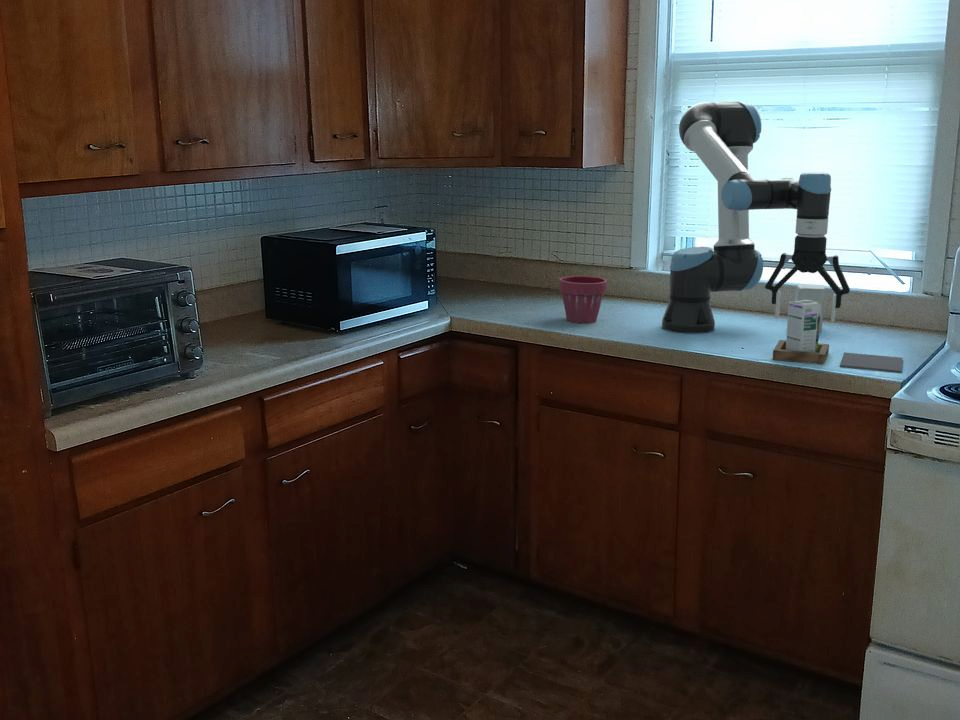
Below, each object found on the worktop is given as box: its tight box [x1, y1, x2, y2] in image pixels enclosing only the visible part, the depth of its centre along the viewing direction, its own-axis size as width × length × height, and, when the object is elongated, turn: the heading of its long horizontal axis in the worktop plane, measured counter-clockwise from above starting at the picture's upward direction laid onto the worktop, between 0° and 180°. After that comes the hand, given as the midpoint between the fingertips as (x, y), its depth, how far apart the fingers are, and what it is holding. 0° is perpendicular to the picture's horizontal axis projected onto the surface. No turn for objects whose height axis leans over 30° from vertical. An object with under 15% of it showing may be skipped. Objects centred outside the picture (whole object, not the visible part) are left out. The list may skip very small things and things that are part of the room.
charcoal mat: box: [839, 351, 903, 374], centre depth 237 cm, size 14×14×1 cm
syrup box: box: [785, 300, 821, 353], centre depth 242 cm, size 6×6×14 cm
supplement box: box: [794, 284, 826, 333], centre depth 274 cm, size 7×7×13 cm
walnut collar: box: [772, 339, 830, 365], centre depth 243 cm, size 12×12×2 cm
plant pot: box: [558, 275, 608, 324], centre depth 286 cm, size 14×14×13 cm
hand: (804, 318), depth 241 cm, fingers open, 13 cm apart
